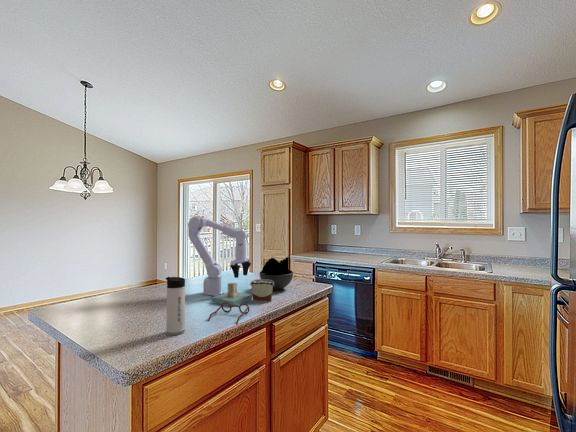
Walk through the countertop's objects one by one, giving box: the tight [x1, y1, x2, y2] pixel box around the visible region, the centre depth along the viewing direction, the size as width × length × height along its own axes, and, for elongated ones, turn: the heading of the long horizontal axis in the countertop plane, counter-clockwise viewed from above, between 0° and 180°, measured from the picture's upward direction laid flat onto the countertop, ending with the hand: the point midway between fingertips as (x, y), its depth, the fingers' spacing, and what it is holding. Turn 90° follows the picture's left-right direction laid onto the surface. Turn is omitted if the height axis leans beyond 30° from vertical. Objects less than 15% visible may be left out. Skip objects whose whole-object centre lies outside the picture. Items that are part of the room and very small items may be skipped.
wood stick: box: [227, 281, 238, 298], centre depth 144 cm, size 4×2×9 cm, turn 60°
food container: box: [249, 278, 274, 303], centre depth 147 cm, size 12×6×10 cm, turn 84°
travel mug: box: [165, 276, 186, 337], centre depth 104 cm, size 6×7×20 cm
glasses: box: [207, 302, 250, 325], centre depth 120 cm, size 13×13×5 cm
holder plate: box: [211, 291, 253, 307], centre depth 144 cm, size 14×14×2 cm
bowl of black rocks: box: [259, 256, 294, 291], centre depth 169 cm, size 20×20×19 cm
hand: (240, 276), depth 159 cm, fingers open, 7 cm apart
